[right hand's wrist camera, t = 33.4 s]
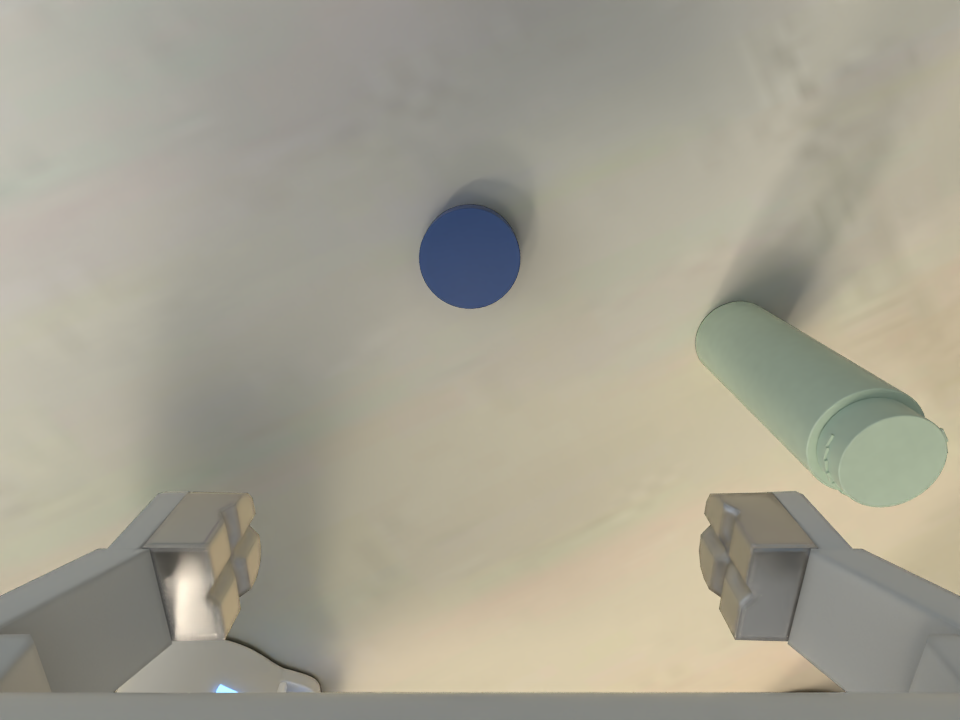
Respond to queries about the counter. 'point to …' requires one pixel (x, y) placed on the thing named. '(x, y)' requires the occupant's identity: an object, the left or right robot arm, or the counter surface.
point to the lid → (469, 256)
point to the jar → (823, 406)
